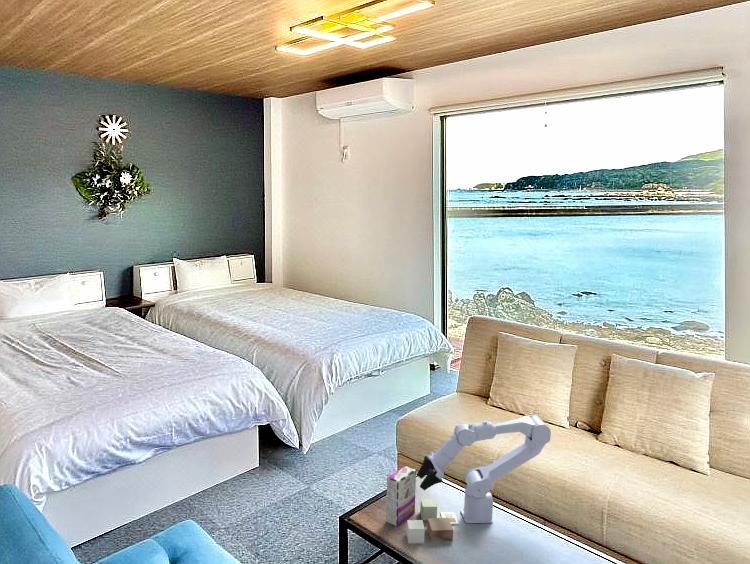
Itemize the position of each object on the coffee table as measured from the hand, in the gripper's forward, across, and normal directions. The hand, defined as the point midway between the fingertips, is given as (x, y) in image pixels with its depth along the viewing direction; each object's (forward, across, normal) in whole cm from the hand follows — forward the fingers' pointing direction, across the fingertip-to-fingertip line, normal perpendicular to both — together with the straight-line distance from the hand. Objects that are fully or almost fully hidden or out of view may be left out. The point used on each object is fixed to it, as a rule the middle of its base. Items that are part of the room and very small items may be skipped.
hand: (420, 482), depth 190 cm
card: (+3, +2, +16) cm, 16 cm away
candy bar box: (+14, +1, +3) cm, 14 cm away
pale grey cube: (+12, +13, +6) cm, 18 cm away
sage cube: (+8, 0, +11) cm, 13 cm away
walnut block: (+6, +11, +12) cm, 18 cm away
